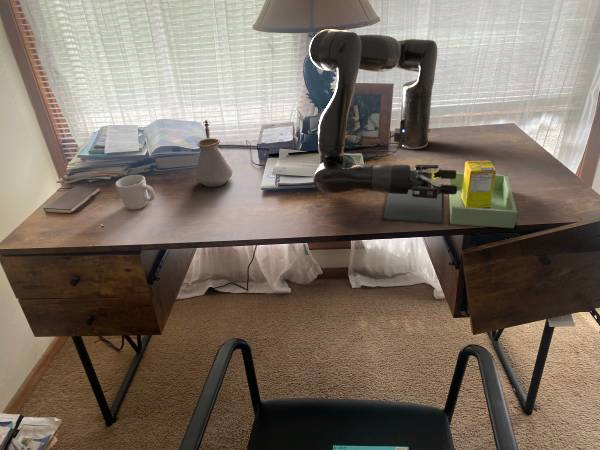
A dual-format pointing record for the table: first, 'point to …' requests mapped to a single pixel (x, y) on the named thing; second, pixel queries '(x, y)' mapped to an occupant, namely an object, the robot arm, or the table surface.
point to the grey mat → (413, 208)
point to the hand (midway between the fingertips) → (456, 182)
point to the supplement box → (478, 184)
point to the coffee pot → (212, 162)
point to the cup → (134, 191)
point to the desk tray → (496, 216)
